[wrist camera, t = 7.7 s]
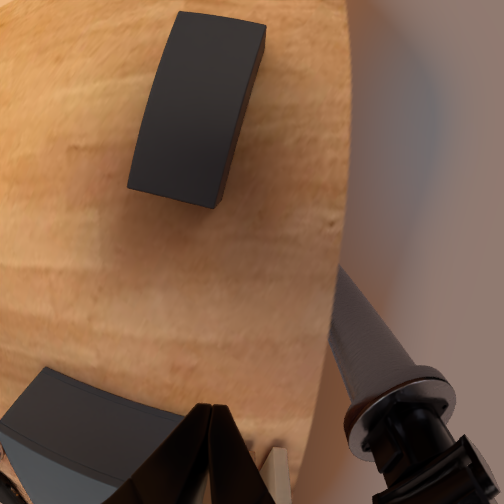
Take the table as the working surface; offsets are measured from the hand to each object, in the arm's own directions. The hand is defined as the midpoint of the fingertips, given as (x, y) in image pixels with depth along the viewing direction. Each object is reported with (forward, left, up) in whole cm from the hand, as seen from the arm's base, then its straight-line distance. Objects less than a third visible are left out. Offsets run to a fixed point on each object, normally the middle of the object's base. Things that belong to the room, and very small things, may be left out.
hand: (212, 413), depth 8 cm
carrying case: (+32, +54, -12) cm, 64 cm away
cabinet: (+7, +20, -12) cm, 24 cm away
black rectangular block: (+4, -9, -12) cm, 15 cm away
